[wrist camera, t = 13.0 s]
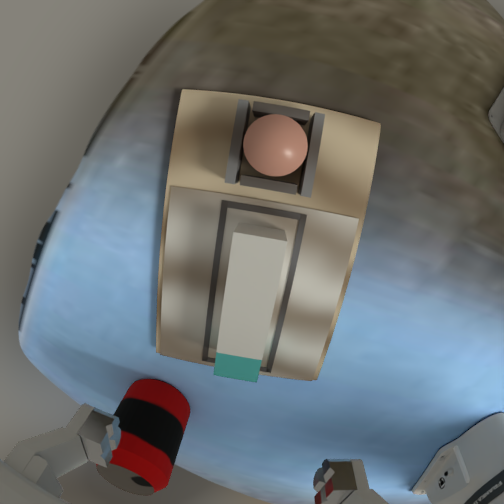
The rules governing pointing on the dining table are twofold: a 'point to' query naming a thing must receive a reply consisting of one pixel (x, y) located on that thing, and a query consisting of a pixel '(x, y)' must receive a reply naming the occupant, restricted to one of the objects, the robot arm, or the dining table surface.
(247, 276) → the marker
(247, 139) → the button
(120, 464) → the soda can
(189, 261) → the board
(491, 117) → the emergency button
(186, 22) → the dining table surface
